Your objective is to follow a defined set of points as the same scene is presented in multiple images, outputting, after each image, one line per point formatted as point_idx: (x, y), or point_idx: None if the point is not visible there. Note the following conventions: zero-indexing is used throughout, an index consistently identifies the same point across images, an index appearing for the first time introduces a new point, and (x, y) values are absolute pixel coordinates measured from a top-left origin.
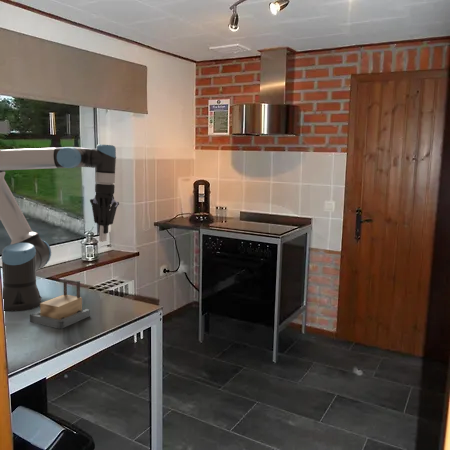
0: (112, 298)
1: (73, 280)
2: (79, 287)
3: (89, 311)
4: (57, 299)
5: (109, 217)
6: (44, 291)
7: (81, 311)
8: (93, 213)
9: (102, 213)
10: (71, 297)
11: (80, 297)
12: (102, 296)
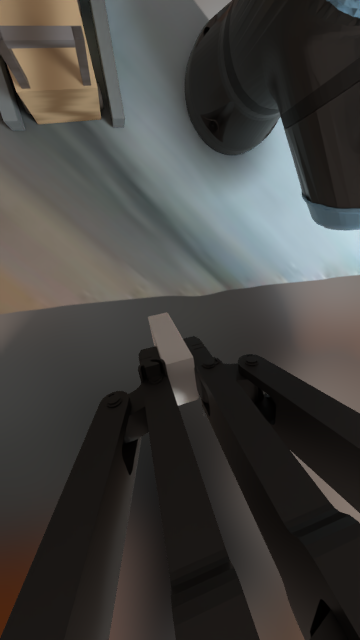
0: (107, 285)
1: (29, 36)
2: (3, 57)
3: (5, 122)
4: (54, 5)
5: (92, 465)
6: (263, 218)
7: (4, 87)
8: (334, 404)
9: (241, 472)
10: (41, 65)
11: (18, 87)
12: (137, 280)
